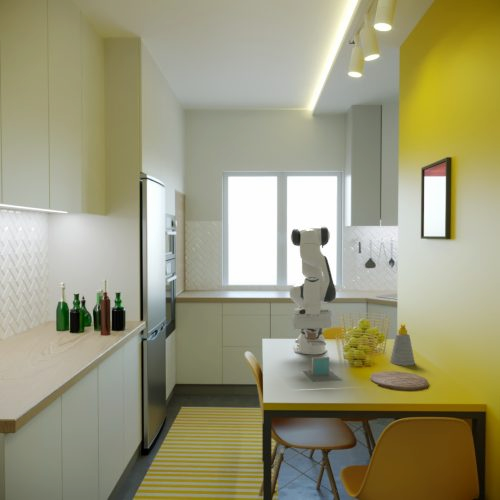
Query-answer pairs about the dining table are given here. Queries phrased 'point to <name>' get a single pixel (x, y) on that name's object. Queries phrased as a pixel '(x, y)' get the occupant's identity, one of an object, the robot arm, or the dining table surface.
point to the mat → (322, 377)
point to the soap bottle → (402, 349)
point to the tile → (320, 365)
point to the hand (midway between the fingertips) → (311, 337)
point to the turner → (313, 339)
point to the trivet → (399, 380)
